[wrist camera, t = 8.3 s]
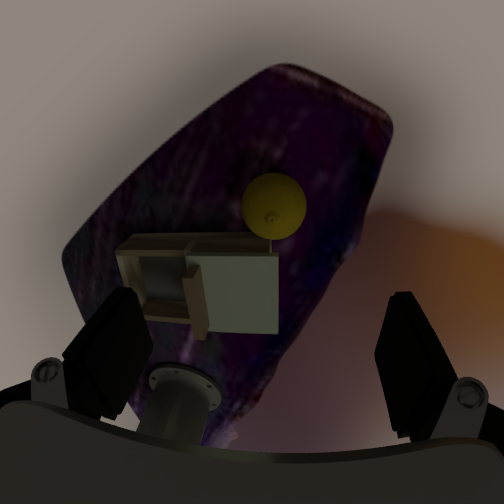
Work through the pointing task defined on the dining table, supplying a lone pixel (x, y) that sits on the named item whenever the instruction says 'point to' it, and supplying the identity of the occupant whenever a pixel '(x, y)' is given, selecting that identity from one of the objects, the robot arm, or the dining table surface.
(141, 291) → the beige box
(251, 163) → the dining table surface
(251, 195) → the lemon
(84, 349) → the robot arm
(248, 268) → the cover
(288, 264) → the dining table surface
